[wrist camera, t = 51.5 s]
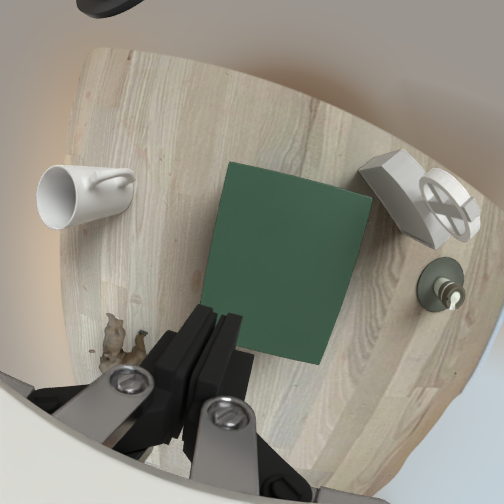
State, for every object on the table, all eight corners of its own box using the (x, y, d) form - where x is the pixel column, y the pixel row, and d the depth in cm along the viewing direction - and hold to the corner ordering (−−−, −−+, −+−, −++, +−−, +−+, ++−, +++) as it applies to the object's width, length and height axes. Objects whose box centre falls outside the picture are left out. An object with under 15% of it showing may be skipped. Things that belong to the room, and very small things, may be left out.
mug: (104, 222, 37) (45, 238, 26) (91, 178, 36) (30, 181, 25) (162, 197, 35) (109, 204, 24) (148, 148, 34) (91, 138, 23)
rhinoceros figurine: (172, 419, 41) (102, 429, 28) (144, 347, 48) (76, 336, 35) (208, 403, 40) (138, 413, 27) (175, 327, 46) (106, 310, 34)
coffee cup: (479, 245, 31) (499, 253, 26) (460, 325, 34) (476, 340, 29) (408, 237, 32) (424, 245, 28) (392, 326, 35) (403, 344, 30)
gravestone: (402, 233, 32) (485, 277, 15) (357, 170, 32) (422, 158, 14) (417, 220, 32) (508, 253, 14) (374, 157, 31) (449, 135, 14)
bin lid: (318, 361, 28) (319, 365, 27) (197, 330, 29) (194, 333, 28) (371, 197, 24) (373, 198, 23) (230, 162, 25) (228, 161, 24)
